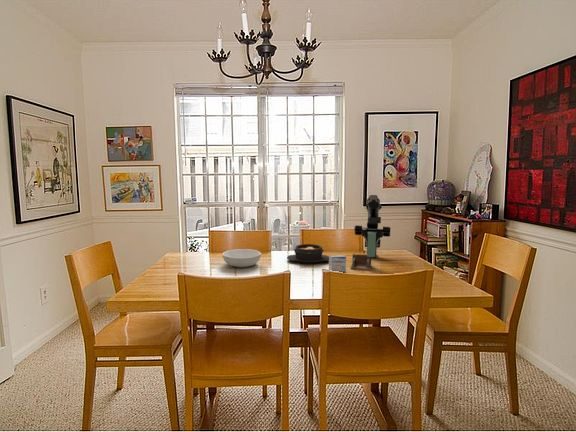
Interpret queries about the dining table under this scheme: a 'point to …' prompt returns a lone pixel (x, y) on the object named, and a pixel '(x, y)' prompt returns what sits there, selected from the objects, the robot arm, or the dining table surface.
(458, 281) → the dining table surface
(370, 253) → the book
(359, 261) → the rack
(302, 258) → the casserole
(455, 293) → the dining table surface
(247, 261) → the serving bowl
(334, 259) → the medicine box
